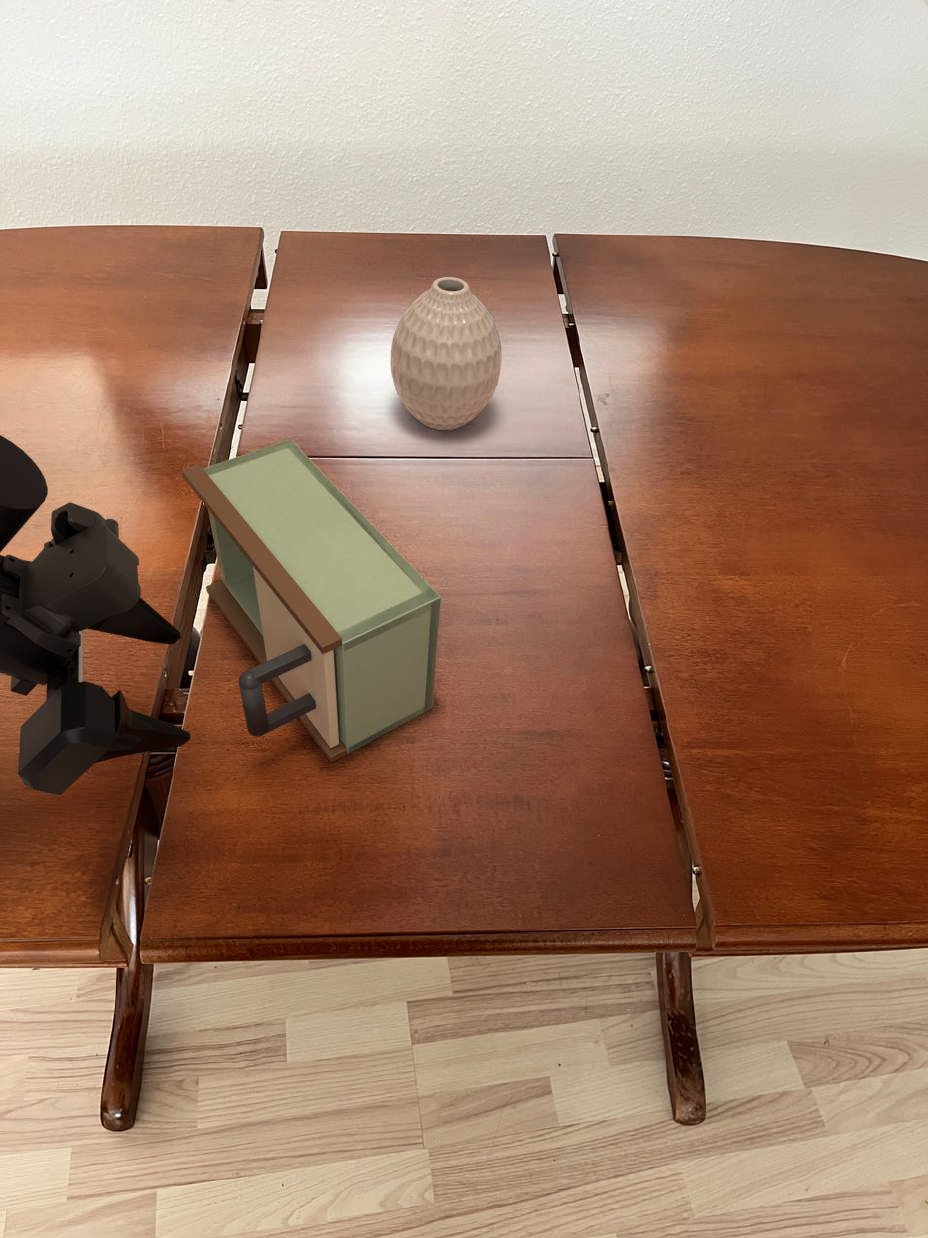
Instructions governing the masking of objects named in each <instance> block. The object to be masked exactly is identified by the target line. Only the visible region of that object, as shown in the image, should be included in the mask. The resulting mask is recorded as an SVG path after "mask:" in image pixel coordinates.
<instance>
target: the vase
mask: <svg viewBox="0 0 928 1238" xmlns="http://www.w3.org/2000/svg"><path fill="white" fill-rule="evenodd" d="M502 356H503V355H502V343H501V339H500V334H499V331H498V328H497V325H496V323H495V321H494V319H493V317H492V314H491V313H490V312H489V310H488V309H487V307H486V306H485V304H484V303H483V302H482V301H481V299H480V298H478V297H477V296H476V295H475V294H474V293H473V292H472V291H471V289H470V286H469V284H468V282H466V281H465V280H463V279H461V278H458V277H454V276H443V277H440V278H437V279H435V280H434V281H433V282H432V283H431V286H430V288H429V289H427V290H426V291H424V292H423V293H422V294H420V295H419V296H418V297H417V298H416V299H414V300H413V301H412V302H411V303H410V305H409V306H408V307H407V308H406V310H405V311H404V313H403V314H402V316H401V317H400V319H399V321H398V323H397V325H396V328H395V330H394V334H393V337H392V341H391V347H390V373H391V378H392V382H393V386H394V388H395V389H394V390H395V391H396V393H397V395H398V397H399V399H400V401H401V402H402V404H403V406H404V407H405V408H406V410H407V411H408V412H409V413H410V415H412V416H413V417H414V418H415V419H416V420H417V421H418V422H419V423H421V424H422V425H423V426H426V427H427V428H430V429H432V430H437V431H453V430H457V429H459V428H461V427H463V426H465V425H467V424H468V423H470V422H472V420H474V419H475V418H476V417H477V416H478V415H479V414H480V413H481V412H482V411H483V410H484V409H485V408H486V406H487V405H488V404H489V402H490V400H491V399H492V398H493V396H494V393H495V391H496V389H497V387H498V383H499V380H500V376H501V369H502V358H503V357H502Z"/></svg>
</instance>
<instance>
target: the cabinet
mask: <svg viewBox="0 0 928 1238" xmlns="http://www.w3.org/2000/svg"><path fill="white" fill-rule="evenodd" d="M180 471H181V477H182V479H183V480H184V481H185V482H186V483H187V485H188V486H189V488H190V489H191V490H192V491H193V492H194V494H195V495H196V496H197V497H198V499H199V500H200V501H201V502H202V504H203V505H204V506H205V508H206V509H207V512H208V518H209V523H210V528H211V533H212V538H213V544H214V548H215V549H214V550H215V554H216V560H217V564H218V570H219V577H220V580H218V581H215V582H213V583H211V584H209V585H205V589H206V590H205V591H206V593H207V594H208V596H209V597H210V598H211V600H212V601H213V603H215V605H216V607H217V608H218V609H219V611H220V612H221V613H222V615H223V617H224V618H225V619H226V621H227V622H228V623H229V625H230V626H231V627H232V629H233V630H234V631H235V633H236V634H237V636H238V637H239V638H240V640H241V641H242V643H243V644H244V645H245V647H246V648H247V650H248V651H249V652H250V654H251V655H252V656H253V658H254V659H255V660H256V662H257V664H258V665H260V664H262V663H264V662H267V658H266V651H265V644H264V638H263V631H262V624H261V618H260V611H259V604H258V598H257V591H256V584H255V577H254V571H253V567H254V568H255V569H256V571H257V572H258V573H259V574H260V576H261V577H262V578H263V579H264V581H265V582H266V583H267V585H268V586H269V587H270V588H271V590H272V591H273V592H274V593H275V595H276V596H277V597H278V598H279V600H280V601H281V602H282V604H283V605H284V606H285V607H286V609H287V610H288V611H289V612H290V614H291V615H292V616H293V617H294V619H295V620H296V621H297V622H298V624H299V625H300V626H301V628H302V629H303V630H304V631H305V633H306V634H307V635H308V636H309V638H310V639H311V640H312V641H313V643H314V644H315V645H316V647H317V648H318V649H319V650H320V652H321V653H322V654H325V653H327V652H329V651H332V650H333V651H334V668H335V685H336V701H337V718H338V735H339V744H338V745H336V746H334V747H332V748H330V746H329V745H328V744H327V742H326V741H325V740H324V738H323V737H322V736H321V734H320V733H319V731H318V730H317V729H316V727H315V726H314V725H313V723H312V722H311V721H310V719H309V718H308V716H307V715H306V714H304V715H302V716H300V717H298V718H297V719H298V720H299V721H300V723H301V724H302V726H303V727H304V729H306V731H307V732H308V734H309V735H310V736H311V738H312V739H313V741H314V742H315V744H316V746H318V748H319V749H320V750H321V752H322V754H323V755H324V756H325V758H327V760H328V761H329V763H331V764H332V763H334V762H335V761H338V760H339V759H341V758H343V757H345V756H347V755H349V754H351V753H352V752H354V751H356V750H358V749H360V748H362V747H363V746H365V745H367V744H369V743H371V742H373V741H375V740H376V739H378V738H380V737H381V736H383V735H386V734H388V733H389V732H391V731H393V730H395V729H397V728H398V727H400V726H402V725H404V724H405V723H407V722H410V721H411V720H413V719H415V718H417V717H418V716H421V715H423V714H424V713H427V712H428V711H430V710H432V709H433V705H434V695H435V694H434V693H435V682H436V680H435V679H436V670H437V669H436V668H437V653H438V642H439V627H440V616H441V605H442V604H441V603H442V602H441V601H442V596H441V595H440V594H439V593H438V592H437V591H436V590H435V589H434V588H433V587H432V586H431V584H430V583H428V581H427V580H426V579H425V578H424V577H423V576H422V575H421V574H420V573H419V572H418V571H417V570H416V569H415V568H414V567H413V566H412V565H411V564H410V562H409V561H407V559H406V558H404V556H403V555H402V554H401V553H400V552H399V551H398V550H397V549H396V548H395V547H394V546H393V545H392V544H391V542H389V541H388V539H387V538H386V537H385V536H384V535H383V534H382V533H381V532H380V531H379V530H378V529H377V528H376V527H375V526H374V524H372V523H371V522H370V520H369V519H367V517H366V516H364V514H363V513H362V512H361V511H360V510H359V509H358V508H357V507H356V506H355V505H354V504H353V503H352V502H351V500H350V499H349V498H347V496H346V495H345V494H344V493H343V492H342V491H341V490H340V489H339V488H338V487H337V486H336V485H335V484H334V483H333V482H332V481H331V479H329V477H328V476H327V475H325V473H324V472H323V471H322V470H321V469H320V468H319V466H317V465H316V464H315V462H313V461H312V459H311V458H310V457H309V456H307V454H306V453H305V452H304V451H303V450H302V449H301V448H300V447H299V446H298V444H296V442H295V441H293V440H292V438H288V439H286V440H282V441H280V442H277V443H273V444H271V445H269V446H265V447H262V448H260V449H259V448H258V449H256V450H253V451H251V452H250V451H249V452H248V453H245V454H242V455H239V456H236V457H233V458H229V459H227V460H224V461H221V462H218V463H215V464H212V465H209V466H207V467H202V466H201V464H199V463H197V464H195V465H191V466H188V467H186V468H182V469H181V470H180ZM270 681H271V682H272V684H273V686H274V687H275V688H276V690H277V691H278V692H279V694H280V695H281V696H282V698H283V699H284V701H285V702H286V704H288V703H290V702H292V701H294V700H295V699H294V697H293V696H292V695H291V693H290V692H289V691H288V689H287V688H286V686H285V685H284V684H283V682H282V681H281V680H280V678H279V677H278V676H277V677H275V678H273V679H271V680H270Z"/></svg>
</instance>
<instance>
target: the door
mask: <svg viewBox="0 0 928 1238" xmlns="http://www.w3.org/2000/svg"><path fill="white" fill-rule="evenodd" d="M253 571H254V577H255V584H256V591H257V598H258V604H259V611H260V618H261V624H262V631H263V638H264V644H265V651H266V658H267V662H264V663H262V664H260V665H259V664H258V665H256V666H254V667H251V668H250V669H248V670H245V671H243V672H242V673H241V674H240V675H239V677H238V688H239V693H240V697H241V702H242V708H243V713H244V718H245V719H244V720H245V723H246V728H247V729H246V730H247V732H248V734H250V736H253V737H256V738H259V737H262V736H264V735H266V734H268V733H271V732H272V731H274V730H276V729H278V728H281V727H282V726H284V725H286V724H288V723H290V722H292V721H294V720H296V719H299V718H298V717H300V716H302V715H304V714H306V715H307V716H308V718H309V719H310V721H311V722H312V723H313V725H314V726H315V727H316V729H317V730H318V731H319V733H320V734H321V736H322V737H323V738H324V740H325V741H326V742H327V744H328V745H329V746H330V748H332V747H334V746H336V745H338V744H339V735H338V718H337V701H336V685H335V668H334V651H333V650H332V651H329V652H327V653H325V654H322V653H321V652H320V650H319V649H318V648H317V647H316V645H315V644H314V643H313V641H312V640H311V639H310V638H309V636H308V635H307V634H306V633H305V631H304V630H303V629H302V628H301V626H300V625H299V624H298V622H297V621H296V620H295V619H294V617H293V616H292V615H291V614H290V612H289V611H288V610H287V609H286V607H285V606H284V605H283V604H282V602H281V601H280V600H279V598H278V597H277V596H276V595H275V593H274V592H273V591H272V590H271V588H270V587H269V586H268V585H267V583H266V582H265V581H264V579H263V578H262V577H261V576H260V574H259V573H258V572H257V571H256V569H255V568H254V567H253ZM277 676H278V677H279V678H280V680H281V681H282V682H283V684H284V685H285V686H286V688H287V689H288V691H289V692H290V693H291V695H292V696H293V697H294V699H295V700H294V701H292V702H290V703H285V704H283V705H282V706H280V707H278V708H276V709H274V710H272V711H270V712H268V713H267V707H266V701H265V696H264V689H263V684H265V683H267V682H270V681H271V679H273V678H275V677H277Z"/></svg>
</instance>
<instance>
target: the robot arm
mask: <svg viewBox="0 0 928 1238" xmlns="http://www.w3.org/2000/svg"><path fill="white" fill-rule="evenodd" d="M48 490H49V487H48V484H47V480H46V478H45V475H44V474H43V472H42V470H41V468H40V467H39V466H38V465H37V463H36V462H35V461H34V459H33V458H31V457H30V455H29V454H27V452H25V450H23V449H22V448H21V447H19V446H18V445H17V444H15V443H14V442H13V441H11V440H10V439H8V438H6V437H5V436H3V435H1V434H0V553H1V552H2V551H3V550H4V549H5V548H6V547H7V546H8V545H9V544H10V542H11V541H12V540H13V539H14V538H15V536H16V535H17V534H18V533H19V532H20V531H21V529H22V528H24V526H25V525H26V524H27V523H28V521H29V520H30V519H31V518H32V517H33V516H34V514H35V513H36V512H37V511H38V510H39V509H40V507H41V506H42V505H43V504H45V501H46V499H47V497H48V493H49V491H48ZM50 514H51V516H50V517H51V518H50V533H51V536H52V538H51V540H48V541H46V542H45V543H43V548H42V550H41V551H40V552H39V553H38V554H37V555H36V556H35V558H34V559H33V560H26V559H21V558H19V557H17V556H15V555H12V554H6V555H2V554H0V674H3V675H5V676H9V677H11V678H10V689H9V690H10V692H12V693H15V694H18V695H21V696H24V697H27V696H28V695H29V694H30V693H31V692H32V691H33V690H34V689H35V687H37V686H38V685H41V686H46V695H45V697H46V698H45V701H44V703H42V704H41V705H40V706H39V707H38V708H37V710H36V711H34V713H32V714H31V716H29V718H28V719H26V721H25V722H24V723H23V724H21V726H20V732H19V750H18V765H17V766H18V767H17V774H18V777H19V778H20V779H21V781H22V783H23V786H25V787H28V788H29V789H31V790H34V791H39V792H43V793H48V794H52V795H56V796H62V794H64V793H65V792H66V791H67V790H68V789H69V788H70V787H71V786H72V785H73V784H74V783H75V782H77V780H78V779H80V778H81V777H82V776H83V775H84V774H85V773H86V772H87V771H88V770H89V769H90V768H91V767H93V766H94V765H95V764H98V763H101V762H105V761H109V760H113V759H116V758H121V757H126V756H131V755H138V754H143V753H150V752H155V751H160V750H166V749H173V748H178V747H182V746H184V745H185V744H186V743H187V742H189V741H190V740H191V739H192V737H191V733H190V732H189V731H187V730H185V729H183V728H181V727H179V726H177V725H175V724H173V723H169V722H167V721H164V720H161V719H158V718H156V717H154V716H150V715H147V714H145V713H142V712H139V711H136V710H134V709H131V708H130V707H129V705H128V703H127V700H126V698H125V696H124V692H123V691H122V690H120V689H118V690H117V691H116V692H115V693H114V694H113V695H112V696H111V695H110V694H109V693H108V692H107V691H106V689H105V688H104V687H103V686H102V685H98V684H95V683H92V682H89V681H87V680H84V631H85V630H91V631H95V632H101V633H105V634H111V635H114V636H115V635H116V636H119V637H125V638H129V639H134V640H140V641H144V642H149V643H155V644H162V645H175V644H176V643H177V642H178V641H179V640H180V639H182V638H181V636H182V635H181V631H180V630H178V629H177V628H176V627H175V626H174V625H172V623H171V622H170V621H168V620H167V619H166V618H165V617H163V616H162V615H161V613H159V612H158V611H156V609H155V608H153V607H152V606H151V605H150V604H149V603H148V602H146V601H145V600H144V599H143V598H142V597H141V595H142V588H141V585H140V583H139V571H138V570H139V569H138V567H139V566H140V557H139V556H138V554H136V553H135V552H134V551H133V550H132V549H131V548H130V547H128V546H127V545H126V544H125V542H123V541H122V540H121V539H120V533H119V531H120V530H119V529H120V528H119V522H118V521H117V519H114V518H107V519H105V517H103V515H102V514H100V512H97V511H95V510H94V509H90V508H87V507H85V506H82V505H79V504H76V503H73V502H70V501H69V502H67V503H65V504H63V505H62V506H60V507H58V508H55V509H54V510H52V511H51V513H50Z"/></svg>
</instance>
